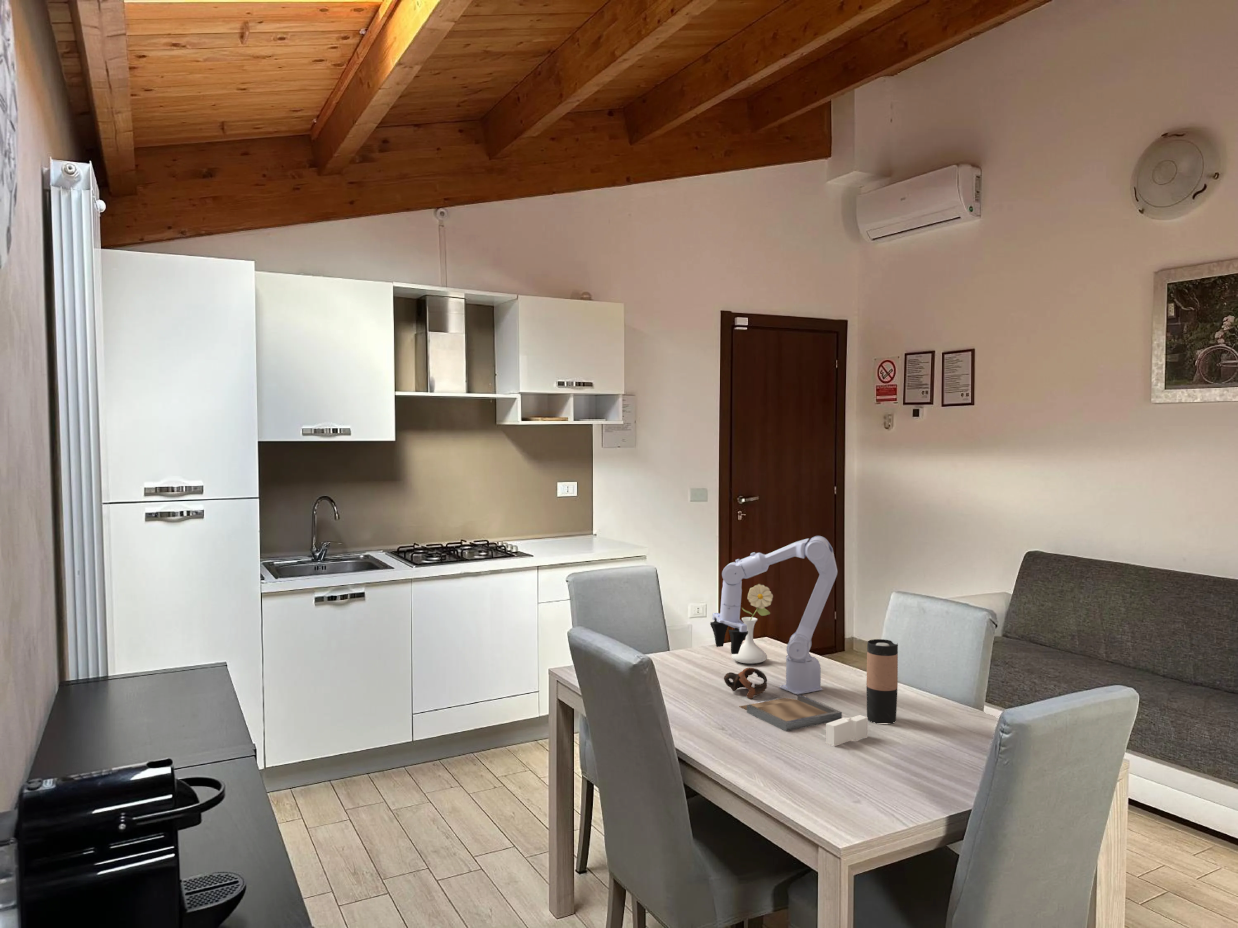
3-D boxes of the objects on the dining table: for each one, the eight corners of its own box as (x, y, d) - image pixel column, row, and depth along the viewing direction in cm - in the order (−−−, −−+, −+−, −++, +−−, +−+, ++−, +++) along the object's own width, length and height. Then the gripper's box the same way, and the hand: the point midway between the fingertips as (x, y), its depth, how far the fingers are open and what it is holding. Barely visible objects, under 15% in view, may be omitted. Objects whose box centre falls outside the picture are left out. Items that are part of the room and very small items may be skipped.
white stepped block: (823, 751, 206) (824, 727, 206) (813, 734, 217) (813, 711, 217) (888, 751, 206) (888, 727, 206) (873, 734, 217) (874, 711, 217)
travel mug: (862, 721, 225) (864, 644, 224) (869, 712, 232) (870, 637, 231) (893, 726, 221) (895, 647, 220) (899, 717, 228) (900, 640, 227)
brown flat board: (785, 700, 245) (785, 694, 245) (835, 721, 227) (835, 715, 227) (738, 709, 237) (738, 703, 237) (786, 732, 219) (786, 725, 219)
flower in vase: (728, 664, 278) (728, 585, 276) (734, 655, 288) (734, 579, 287) (770, 668, 274) (770, 588, 273) (774, 658, 285) (775, 581, 283)
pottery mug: (759, 689, 254) (768, 668, 250) (761, 713, 246) (771, 692, 242) (719, 679, 254) (728, 658, 249) (719, 702, 245) (729, 681, 241)
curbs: (800, 701, 241) (800, 694, 241) (841, 719, 226) (841, 711, 226) (746, 712, 232) (746, 704, 232) (786, 731, 218) (786, 723, 218)
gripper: (705, 599, 261) (701, 644, 262) (734, 610, 248) (730, 658, 249) (724, 597, 264) (721, 642, 265) (754, 609, 251) (750, 656, 252)
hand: (727, 649), depth 257 cm, fingers open, 7 cm apart
